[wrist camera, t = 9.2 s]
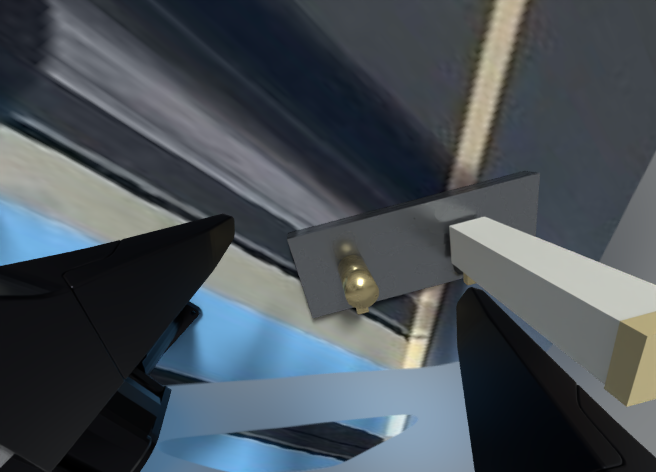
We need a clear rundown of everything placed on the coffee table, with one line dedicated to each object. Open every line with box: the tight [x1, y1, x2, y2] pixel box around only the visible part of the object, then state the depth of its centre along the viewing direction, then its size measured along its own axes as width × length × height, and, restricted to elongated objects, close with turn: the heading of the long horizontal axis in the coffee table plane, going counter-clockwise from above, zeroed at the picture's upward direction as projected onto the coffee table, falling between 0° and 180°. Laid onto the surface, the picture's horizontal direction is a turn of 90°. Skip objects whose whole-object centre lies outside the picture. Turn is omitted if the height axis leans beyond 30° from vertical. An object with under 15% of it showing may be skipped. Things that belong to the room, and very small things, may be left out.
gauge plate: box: [287, 171, 540, 318], centre depth 20 cm, size 21×8×6 cm, turn 104°
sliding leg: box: [449, 217, 656, 407], centre depth 16 cm, size 3×6×13 cm, turn 14°
